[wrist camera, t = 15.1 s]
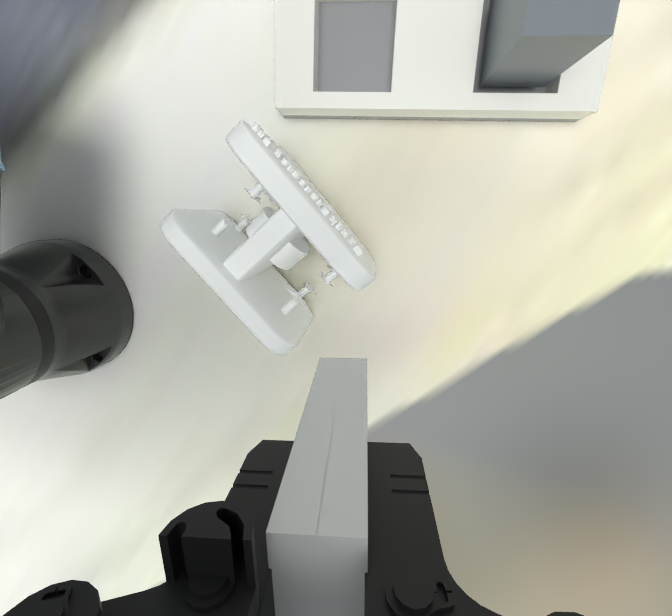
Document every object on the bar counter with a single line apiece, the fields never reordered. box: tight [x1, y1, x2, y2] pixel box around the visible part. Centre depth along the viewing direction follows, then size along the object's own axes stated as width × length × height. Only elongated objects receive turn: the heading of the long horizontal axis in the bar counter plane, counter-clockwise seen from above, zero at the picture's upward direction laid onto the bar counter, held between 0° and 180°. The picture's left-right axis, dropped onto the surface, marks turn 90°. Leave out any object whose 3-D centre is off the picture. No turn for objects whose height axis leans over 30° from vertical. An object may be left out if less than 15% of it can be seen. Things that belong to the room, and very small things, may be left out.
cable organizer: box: [160, 121, 375, 356], centre depth 32 cm, size 15×11×12 cm
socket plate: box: [274, 0, 620, 122], centre depth 30 cm, size 26×12×4 cm, turn 88°
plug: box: [480, 0, 620, 87], centre depth 25 cm, size 5×6×10 cm
